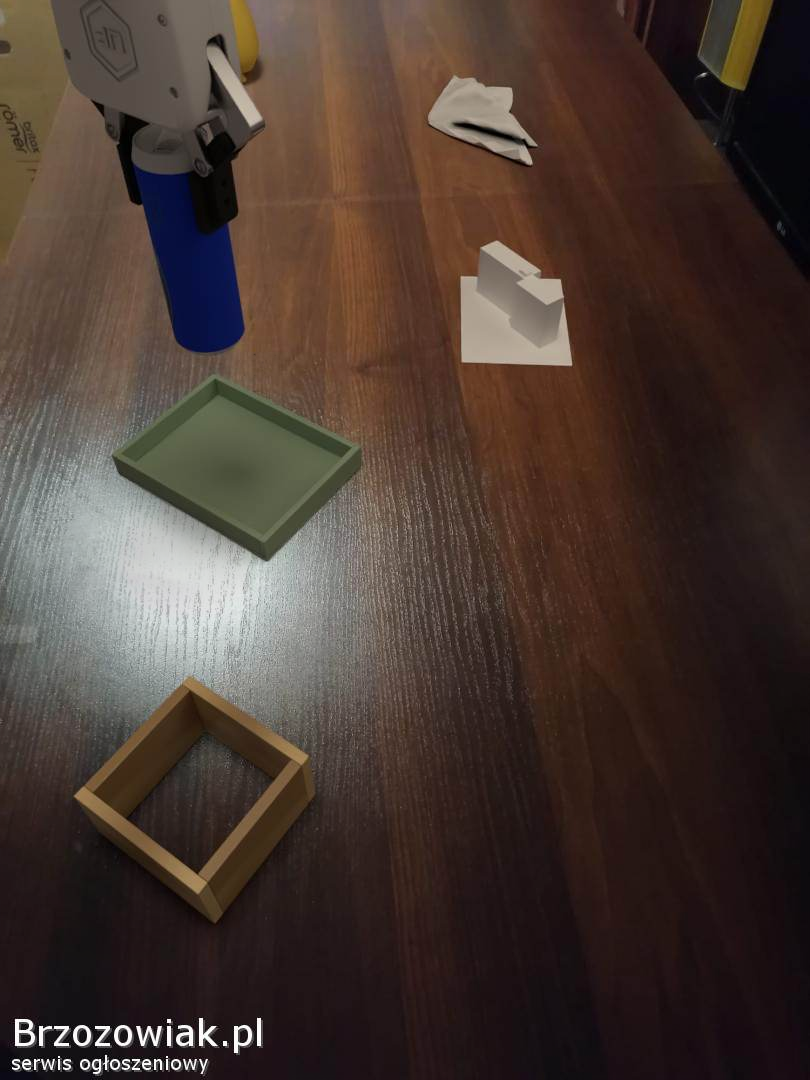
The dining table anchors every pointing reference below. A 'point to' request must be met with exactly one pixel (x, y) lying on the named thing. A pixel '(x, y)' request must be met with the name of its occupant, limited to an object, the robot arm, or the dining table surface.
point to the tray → (239, 464)
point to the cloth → (481, 118)
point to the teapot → (245, 36)
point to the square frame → (153, 758)
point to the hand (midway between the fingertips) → (184, 207)
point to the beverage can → (186, 247)
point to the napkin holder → (512, 313)
